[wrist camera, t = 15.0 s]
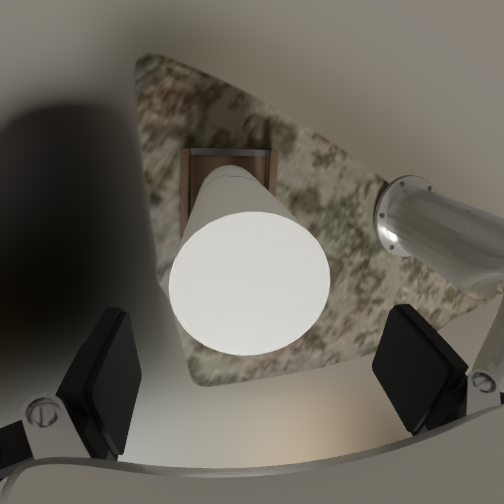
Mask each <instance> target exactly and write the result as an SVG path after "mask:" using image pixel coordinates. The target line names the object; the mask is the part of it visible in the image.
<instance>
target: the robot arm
mask: <svg viewBox="0 0 504 504" xmlns="http://www.w3.org/2000/svg"><path fill="white" fill-rule="evenodd" d="M374 226H375V232H376V235H377V238H378V240H379V242H380V244H381V245H382V246H383V247H384V248H385V249H386V250H387V251H388V252H390V253H392V254H393V255H396V256H400V257H407V256H414V257H415V258H417V259H418V260H419V261H421V262H422V263H424V264H425V265H427V266H428V267H429V268H431V269H432V270H434V271H435V272H436V273H438V274H439V275H440V276H442V277H443V278H445V279H446V280H447V281H449V282H450V283H451V284H453V285H454V286H455V287H457V288H458V289H460V290H461V291H462V292H464V293H465V294H467V295H468V296H471V297H474V298H489V297H493V296H496V295H499V294H502V293H503V298H502V301H501V304H500V307H499V309H498V313H497V315H496V317H495V320H494V322H493V324H492V326H491V328H490V330H489V333H488V335H487V337H486V339H485V341H484V343H483V345H482V347H481V349H480V351H479V353H478V355H477V357H476V359H475V362H474V364H473V367H472V370H471V372H470V373H469V374H468V376H466V374H465V372H466V371H467V369H468V365H467V364H466V363H465V362H464V361H463V360H462V358H461V357H460V356H459V355H458V354H457V353H456V352H455V351H454V350H453V349H452V347H451V346H450V345H449V344H448V343H447V342H446V341H445V340H444V339H443V338H442V337H441V336H440V335H439V334H438V332H437V331H436V330H435V329H434V328H433V327H432V326H431V325H430V324H429V323H428V322H427V321H426V320H425V319H424V318H423V317H422V316H421V315H420V314H419V313H418V312H417V311H416V310H415V309H414V308H413V307H412V306H411V305H410V304H399V305H395V306H394V307H393V309H391V310H390V312H389V315H388V318H387V321H386V324H385V328H384V331H383V334H382V337H381V340H380V343H379V346H378V349H377V351H376V354H375V357H374V360H373V363H372V369H373V372H374V374H375V375H376V377H377V379H378V381H379V382H380V384H381V386H382V387H383V389H384V391H385V393H386V394H387V396H388V398H389V399H390V401H391V403H392V405H393V406H394V408H395V410H396V412H397V413H398V415H399V417H400V419H401V421H402V422H403V424H404V426H405V428H406V429H407V431H408V432H411V433H412V435H413V437H410V438H407V439H404V440H401V441H398V442H394V443H391V444H387V445H384V446H380V447H377V448H373V449H369V450H365V451H361V452H357V453H352V454H348V455H344V456H338V457H333V458H328V459H322V460H316V461H310V462H304V463H296V464H287V465H278V466H267V467H252V468H224V469H210V468H209V469H207V468H204V469H203V468H181V467H165V466H153V465H143V464H135V463H128V462H119V461H117V459H118V455H123V453H124V449H125V445H126V440H127V435H128V431H129V427H130V422H131V418H132V414H133V410H134V405H135V402H136V398H137V394H138V390H139V386H140V382H141V375H142V374H141V368H140V364H139V359H138V355H137V350H136V346H135V341H134V336H133V331H132V326H131V320H130V315H129V313H128V312H124V309H123V308H116V307H107V308H106V309H105V310H104V312H103V314H102V315H101V317H100V319H99V321H98V322H97V324H96V326H95V327H94V329H93V331H92V332H91V334H90V336H89V338H88V340H87V341H86V342H85V343H83V344H82V345H81V347H80V349H79V351H78V352H77V355H76V356H75V358H74V360H73V362H72V364H71V365H70V367H69V369H68V371H67V373H66V375H65V377H64V379H63V381H62V383H61V385H60V387H59V389H58V391H57V393H56V395H52V394H39V395H35V396H33V397H31V398H30V399H29V400H28V401H27V402H26V403H25V404H24V406H23V408H22V412H21V417H22V420H20V421H17V422H15V423H12V424H10V425H7V426H5V427H3V428H0V504H504V218H501V217H499V216H497V215H494V214H492V213H489V212H486V211H484V210H481V209H479V208H476V207H474V206H471V205H468V204H465V203H463V202H460V201H457V200H455V199H452V198H449V197H446V196H443V195H440V194H437V192H436V190H435V189H434V187H433V186H432V185H431V184H430V183H429V182H428V181H427V180H425V179H424V178H421V177H418V176H414V175H406V176H402V177H399V178H397V179H396V180H394V181H392V182H391V183H390V184H389V185H388V186H387V187H386V188H385V190H384V191H383V192H382V194H381V196H380V198H379V200H378V203H377V206H376V209H375V215H374Z"/></svg>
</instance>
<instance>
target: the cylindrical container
mask: <svg viewBox="0 0 504 504" xmlns="http://www.w3.org/2000/svg"><path fill="white" fill-rule="evenodd" d="M329 287H330V272H329V266H328V262H327V259H326V256H325V253H324V252H323V250H322V248H321V246H320V245H319V243H318V241H317V240H316V239H315V238H314V237H313V236H312V235H311V234H310V233H309V232H308V231H307V230H306V229H305V227H304V226H303V225H302V224H301V223H300V222H299V221H298V220H297V219H296V218H295V217H294V216H293V215H292V214H291V213H290V212H289V211H288V210H287V209H286V208H285V207H284V206H283V205H282V204H281V203H280V202H279V201H278V200H277V199H276V198H275V197H274V196H273V195H272V194H271V193H270V192H269V191H268V190H267V189H266V188H265V187H264V186H263V185H262V184H261V183H260V182H259V181H258V180H257V179H256V178H255V177H254V176H252V175H251V174H250V173H249V172H248V171H247V170H245V169H244V168H242V167H239V166H235V165H225V166H220V167H218V168H216V169H214V170H213V171H211V172H210V173H209V174H208V175H207V176H206V178H205V179H204V181H203V183H202V186H201V188H200V191H199V193H198V196H197V199H196V201H195V204H194V207H193V209H192V212H191V215H190V217H189V220H188V223H187V226H186V228H185V231H184V234H183V237H182V240H181V242H180V245H179V248H178V251H177V254H176V257H175V260H174V263H173V266H172V270H171V273H170V279H169V294H170V302H171V305H172V307H173V310H174V313H175V315H176V317H177V319H178V320H179V322H180V323H181V325H182V326H183V328H184V329H185V330H186V331H187V332H188V333H189V334H190V335H191V336H192V337H193V338H195V339H196V340H198V341H199V342H201V343H202V344H204V345H205V346H207V347H210V348H212V349H214V350H217V351H220V352H224V353H228V354H233V355H258V354H263V353H268V352H272V351H274V350H277V349H280V348H282V347H285V346H287V345H288V344H290V343H292V342H293V341H295V340H297V339H298V338H299V337H301V336H302V335H303V334H304V333H305V332H306V331H308V330H309V329H310V327H311V326H312V325H313V324H314V323H315V321H316V320H317V319H318V317H319V316H320V314H321V312H322V310H323V308H324V306H325V303H326V300H327V297H328V294H329Z"/></svg>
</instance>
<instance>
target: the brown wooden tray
mask: <svg viewBox="0 0 504 504" xmlns="http://www.w3.org/2000/svg"><path fill="white" fill-rule="evenodd" d="M277 163H278V151H272V150H254V149H229V148H183V149H181V240H182V237H183V234H184V231H185V228H186V226H187V223H188V220H189V217H190V215H191V212H192V209H193V207H194V204H195V201H196V199H197V196H198V193H199V191H200V188H201V186H202V183H203V181H204V179H205V178H206V176H207V175H208V174H209V173H210V172H211V171H213V170H214V169H216V168H218V167H220V166H225V165H235V166H239V167H242V168H244V169H245V170H247V171H248V172H249V173H250V174H251V175H252V176H254V177H255V178H256V179H257V180H258V181H259V182H260V183H261V184H262V185H263V186H264V187H265V188H266V189H267V190H268V191H269V192H270V193H271V194H272V195H273V196H274V197H275V193H276V179H277Z"/></svg>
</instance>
